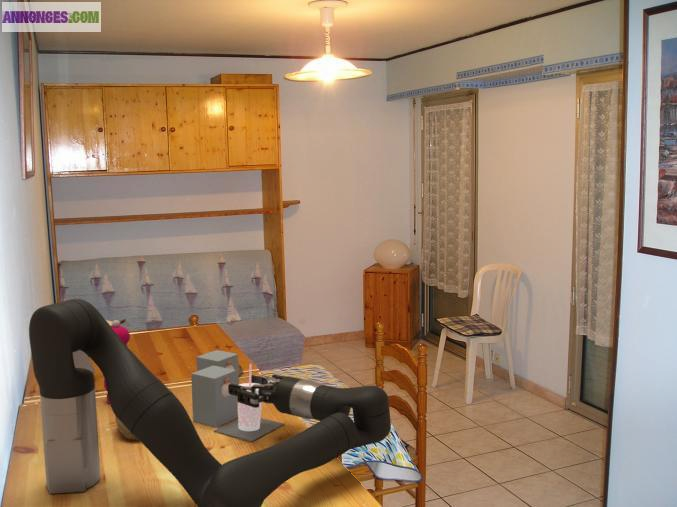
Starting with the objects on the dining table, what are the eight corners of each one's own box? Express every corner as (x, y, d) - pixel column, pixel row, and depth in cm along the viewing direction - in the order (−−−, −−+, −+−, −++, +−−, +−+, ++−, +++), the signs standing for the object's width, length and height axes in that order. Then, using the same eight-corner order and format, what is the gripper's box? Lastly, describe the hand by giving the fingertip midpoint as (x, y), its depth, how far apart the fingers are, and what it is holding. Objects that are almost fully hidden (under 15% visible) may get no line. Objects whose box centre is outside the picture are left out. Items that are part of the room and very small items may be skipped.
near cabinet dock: (284, 425, 152) (283, 376, 151) (251, 442, 143) (249, 390, 142) (221, 408, 163) (219, 363, 161) (186, 423, 154) (184, 375, 152)
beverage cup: (232, 423, 152) (233, 361, 151) (260, 421, 154) (261, 359, 153) (237, 433, 146) (239, 368, 145) (266, 431, 148) (267, 366, 147)
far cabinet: (241, 398, 170) (239, 354, 168) (221, 406, 164) (219, 361, 162) (218, 392, 174) (216, 350, 172) (198, 400, 168) (196, 356, 166)
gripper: (280, 427, 136) (217, 410, 145) (322, 405, 148) (261, 391, 157) (279, 390, 135) (216, 376, 144) (322, 371, 147) (261, 359, 156)
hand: (240, 384), depth 151 cm, fingers closed on beverage cup, 6 cm apart
